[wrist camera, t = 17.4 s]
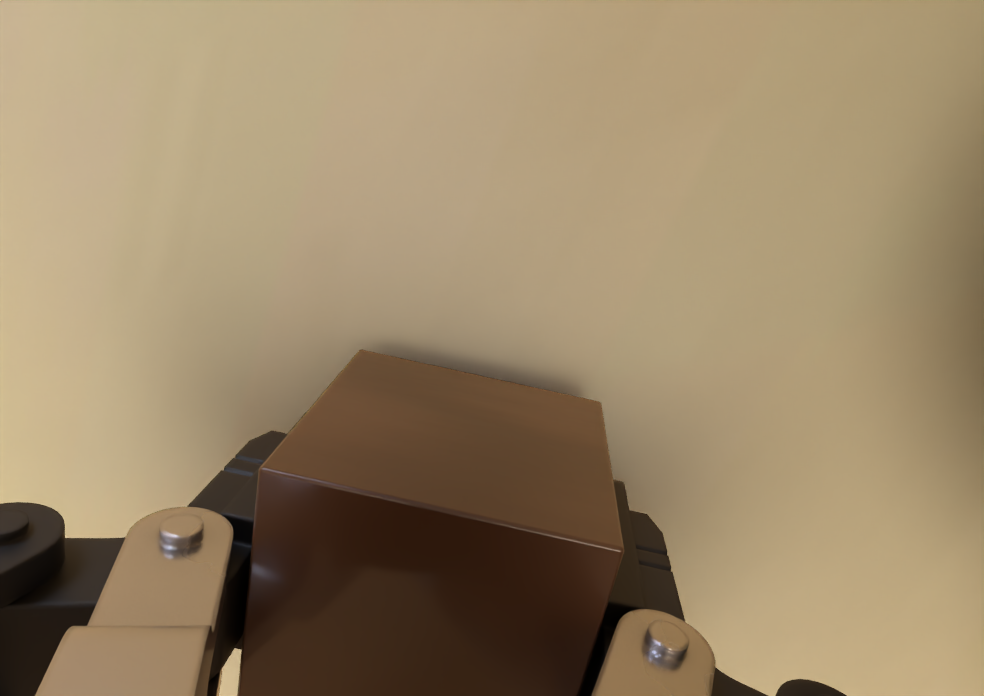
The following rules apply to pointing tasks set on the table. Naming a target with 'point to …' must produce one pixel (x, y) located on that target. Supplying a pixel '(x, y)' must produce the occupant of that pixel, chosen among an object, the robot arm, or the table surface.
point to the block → (431, 540)
